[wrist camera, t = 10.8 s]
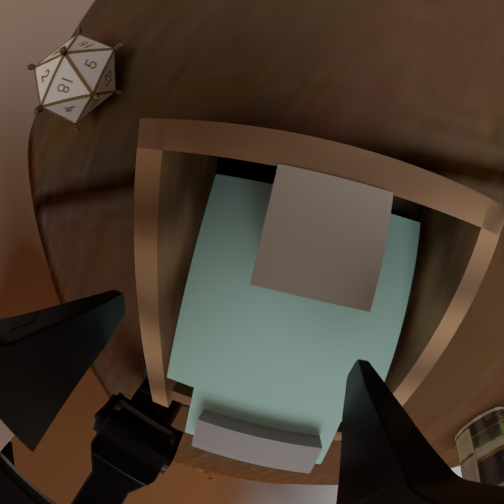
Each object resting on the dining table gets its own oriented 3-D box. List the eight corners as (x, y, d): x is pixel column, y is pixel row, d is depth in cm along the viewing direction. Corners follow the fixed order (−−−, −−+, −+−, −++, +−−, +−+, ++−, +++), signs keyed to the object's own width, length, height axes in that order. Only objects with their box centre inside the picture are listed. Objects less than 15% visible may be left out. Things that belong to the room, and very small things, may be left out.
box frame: (356, 387, 24) (358, 450, 17) (187, 346, 27) (152, 401, 20) (445, 182, 16) (507, 207, 8) (203, 124, 18) (140, 118, 11)
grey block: (341, 294, 16) (370, 311, 10) (264, 275, 16) (249, 284, 10) (358, 216, 16) (393, 192, 10) (282, 198, 16) (278, 163, 10)
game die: (132, 102, 22) (71, 170, 17) (74, 73, 19) (8, 133, 14) (162, 31, 15) (76, 87, 10) (90, 4, 12) (-1, 54, 7)
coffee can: (490, 402, 22) (512, 475, 9) (511, 408, 21) (531, 468, 9) (443, 440, 26) (452, 509, 14) (470, 442, 26) (481, 501, 13)
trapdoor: (343, 458, 15) (349, 478, 12) (165, 416, 17) (150, 431, 14) (414, 225, 16) (431, 217, 14) (219, 179, 18) (209, 164, 16)
